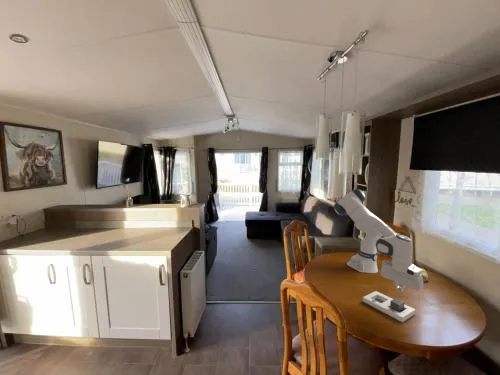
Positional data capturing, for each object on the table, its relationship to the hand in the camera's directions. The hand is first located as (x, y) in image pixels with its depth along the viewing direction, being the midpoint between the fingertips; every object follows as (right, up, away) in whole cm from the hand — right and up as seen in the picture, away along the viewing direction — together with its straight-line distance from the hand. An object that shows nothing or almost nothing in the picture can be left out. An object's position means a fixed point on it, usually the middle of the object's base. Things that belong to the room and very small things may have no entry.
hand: (399, 290), depth 130 cm
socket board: (-3, -12, +6) cm, 14 cm away
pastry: (+38, -9, +41) cm, 56 cm away
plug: (-1, -12, +1) cm, 12 cm away
